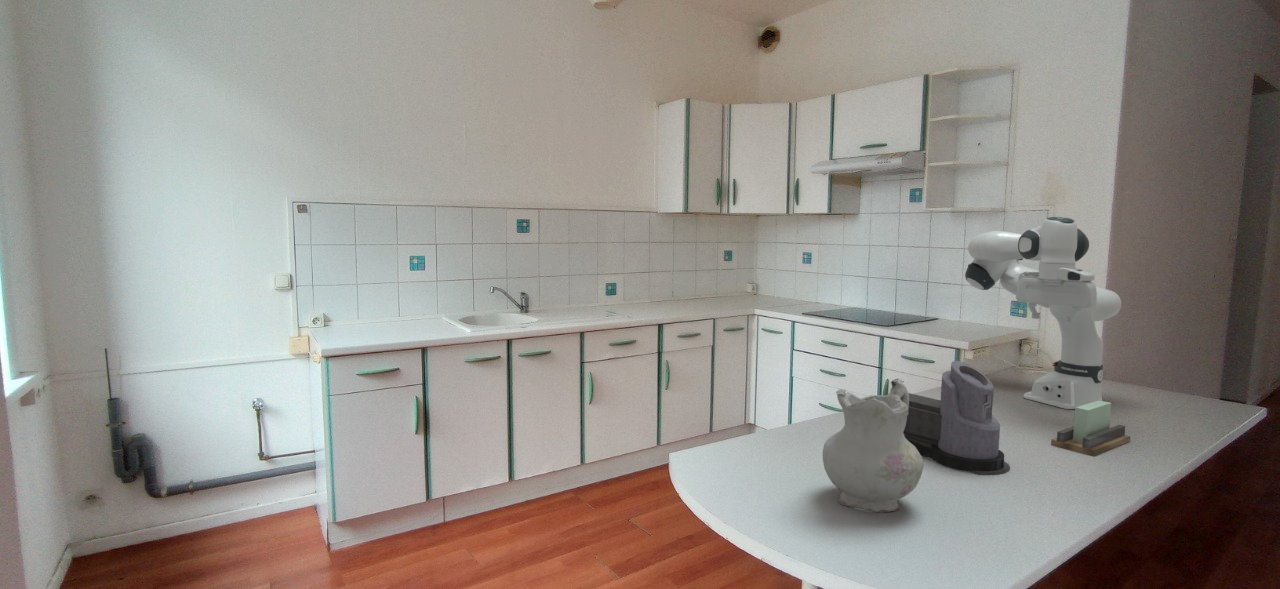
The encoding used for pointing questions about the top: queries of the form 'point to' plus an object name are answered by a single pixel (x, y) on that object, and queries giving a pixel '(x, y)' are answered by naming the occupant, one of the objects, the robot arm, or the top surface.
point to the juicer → (958, 423)
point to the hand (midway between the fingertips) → (1052, 320)
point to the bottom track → (1092, 440)
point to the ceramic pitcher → (873, 451)
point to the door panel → (1091, 419)
